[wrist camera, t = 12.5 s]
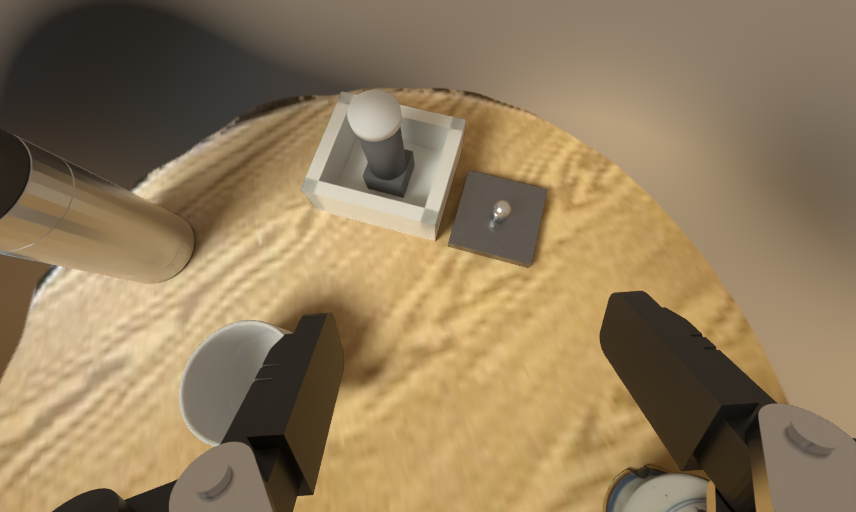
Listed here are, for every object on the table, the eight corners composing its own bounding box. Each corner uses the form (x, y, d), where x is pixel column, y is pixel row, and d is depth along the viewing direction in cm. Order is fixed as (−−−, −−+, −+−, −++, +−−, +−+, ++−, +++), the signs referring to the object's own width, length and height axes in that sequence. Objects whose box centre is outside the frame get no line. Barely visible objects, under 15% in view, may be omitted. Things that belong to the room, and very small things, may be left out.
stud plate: (447, 246, 40) (449, 235, 36) (467, 176, 42) (471, 157, 38) (527, 267, 39) (539, 258, 35) (543, 194, 42) (555, 177, 37)
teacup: (211, 390, 36) (151, 404, 29) (270, 307, 39) (229, 298, 31) (311, 463, 34) (275, 498, 27) (367, 370, 37) (349, 377, 29)
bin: (318, 210, 42) (300, 189, 36) (353, 122, 45) (341, 91, 39) (435, 241, 40) (434, 225, 35) (462, 148, 44) (466, 119, 38)
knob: (366, 189, 41) (339, 128, 30) (379, 155, 43) (357, 84, 31) (404, 198, 41) (391, 140, 29) (415, 164, 42) (407, 95, 30)
